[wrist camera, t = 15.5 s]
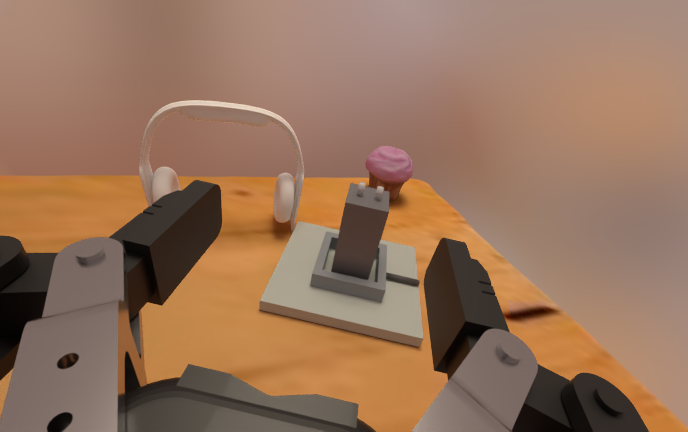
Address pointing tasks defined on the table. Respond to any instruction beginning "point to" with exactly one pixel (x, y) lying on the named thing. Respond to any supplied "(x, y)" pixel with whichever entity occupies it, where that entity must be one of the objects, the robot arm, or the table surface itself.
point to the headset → (231, 113)
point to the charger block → (360, 230)
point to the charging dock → (347, 288)
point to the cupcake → (389, 169)
